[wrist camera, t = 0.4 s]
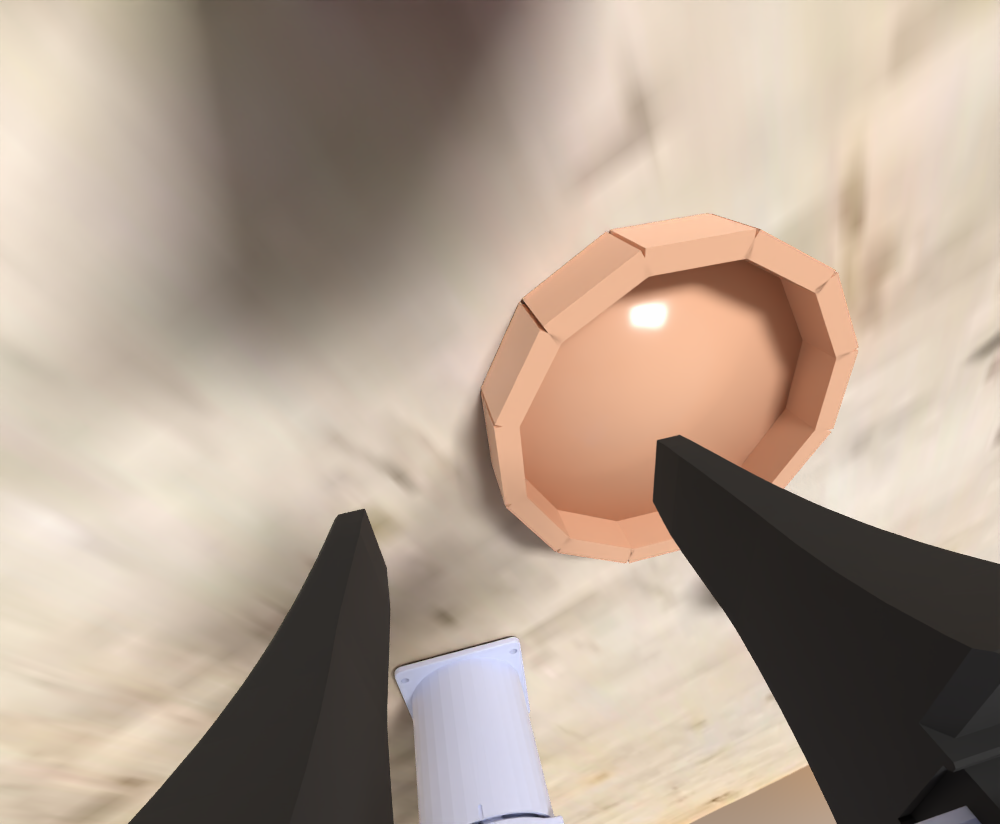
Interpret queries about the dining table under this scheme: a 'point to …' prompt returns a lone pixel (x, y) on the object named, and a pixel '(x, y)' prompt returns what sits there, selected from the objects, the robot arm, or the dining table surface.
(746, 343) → the bowl
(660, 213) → the dining table surface
